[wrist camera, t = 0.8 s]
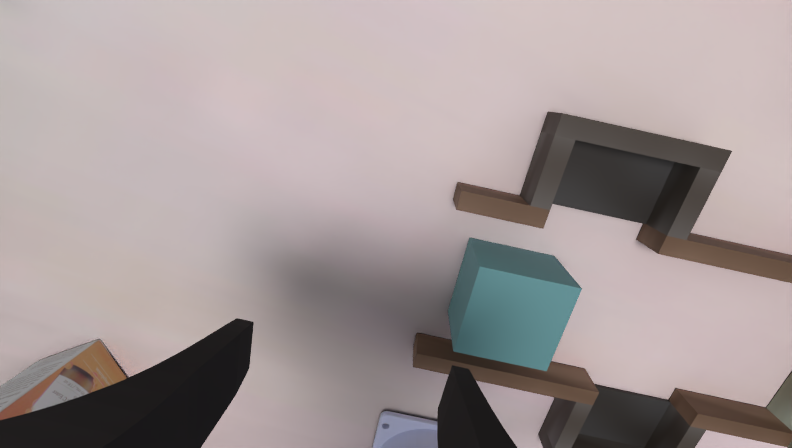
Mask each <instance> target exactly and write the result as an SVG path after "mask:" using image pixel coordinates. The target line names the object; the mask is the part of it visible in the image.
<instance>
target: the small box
mask: <svg viewBox="0 0 792 448" xmlns="http://www.w3.org/2000/svg"><path fill="white" fill-rule="evenodd" d="M124 379H127V378H126V376H125V375H124V374H123V372H122V371H121V369H120V368H119V367H118V365H117V364H116V362H115V361H114V360H113V358H112V357H111V355H110V353H109V352H108V350H107V348H106V347H105V345H104V344H103V343H102V341H101V340H95V341H93V342H90V343H87V344H84V345H81V346H78V347H75V348H72V349H70V350H67V351H64V352H61V353H58V354H55V355H53V356H50V357H47V358H44V359H42V360H39V361H37V362H36V363H34V364H33V365H31V366H30V367H28V368H27V369H26V370H24V371H22V372H21V373H19V374H18V375H16V376H15V377H14V378H12V379H11V380H9V381H8V382H6V383H5V384H3V385H2V386H0V420H3V419H7V418H11V417H15V416H19V415H23V414H26V413H30V412H33V411H37V410H40V409H43V408H47V407H50V406H53V405H57V404H60V403H63V402H66V401H69V400H72V399H75V398H78V397H81V396H83V395H86V394H89V393H91V392H94V391H96V390H99V389H102V388H104V387H107V386H110V385H112V384H115V383H117V382H120V381H122V380H124Z"/></svg>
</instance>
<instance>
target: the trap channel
mask: <svg viewBox="0 0 792 448" xmlns="http://www.w3.org/2000/svg"><path fill="white" fill-rule="evenodd" d="M731 152H732V151H730V150H725V149H721V148H716V147H712V146H707V145H703V144H698V143H694V142H689V141H685V140H680V139H676V138H671V137H667V136H662V135H658V134H653V133H649V132H644V131H640V130H635V129H631V128H626V127H622V126H617V125H613V124H608V123H604V122H599V121H595V120H590V119H586V118H581V117H577V116H572V115H568V114H563V113H555V112H548V113H547V116H546V119H545V122H544V125H543V128H542V131H541V134H540V137H539V140H538V143H537V146H536V149H535V152H534V155H533V158H532V161H531V164H530V167H529V170H528V173H527V176H526V179H525V182H524V185H523V188H522V191H521V194H520V196H519V195H514V194H510V193H505V192H501V191H496V190H492V189H487V188H482V187H478V186H473V185H469V184H464V183H460V182H458V183H457V187H456V190H455V194H454V198H453V201H454V204H455V207H456V210H461V211H465V212H470V213H474V214H479V215H483V216H488V217H493V218H497V219H502V220H506V221H511V222H515V223H520V224H525V225H529V226H534V227H538V228H544V225H545V222H546V220H547V217H548V214H549V211H550V209H551V206H552V204H557V205H561V206H566V207H570V208H575V209H579V210H584V211H589V212H593V213H598V214H602V215H607V216H611V217H616V218H620V219H625V220H630V221H634V222H639V223H643V226H642V228H641V230H640V232H639V235H638V237H637V239H636V240H638V241H639V242H641V243H643V244H644V245H646V246H647V247H649V248H650V249H652V250H653V251H655V252H656V253H658V254H662V255H666V256H671V257H675V258H680V259H685V260H689V261H694V262H698V263H703V264H707V265H712V266H716V267H721V268H726V269H730V270H735V271H739V272H744V273H748V274H753V275H758V276H762V277H767V278H771V279H776V280H780V281H785V282H790V283H792V255H788V254H783V253H779V252H774V251H770V250H765V249H760V248H756V247H751V246H747V245H742V244H738V243H733V242H729V241H724V240H719V239H715V238H710V237H706V236H701V235H697V234H692V233H690V232H691V230H692V228H693V226H694V224H695V222H696V220H697V219H698V217H699V215H700V213H701V211H702V209H703V207H704V205H705V203H706V201H707V199H708V197H709V195H710V193H711V191H712V189H713V187H714V185H715V183H716V181H717V179H718V177H719V176H720V174H721V172H722V170H723V168H724V166H725V164H726V162H727V160H728V158H729V156H730V154H731ZM452 365H453V366H458V367H463V368H467V369H469V370H470V372H471V373H472V375H473V377H474V379H475V380H477V381H481V382H486V383H491V384H495V385H500V386H505V387H509V388H514V389H519V390H523V391H528V392H533V393H537V394H542V395H547V396H551V397H555V399H554V401H553V404H552V406H551V408H550V410H549V412H548V415H547V417H546V419H545V421H544V423H543V426H542V428H541V430H540V432H539V437H540V440H541V443H542V446H543V448H695V446H696V445H697V443H698V442H699V440H700V439H701V437H702V436H703V434H704V433H705V431H706V430H710V431H714V432H719V433H724V434H728V435H733V436H738V437H742V438H747V439H752V440H756V441H761V442H766V443H770V444H775V445H780V446H784V447H788V448H792V372H791V374H790V375H789V377H788V378H787V379H786V381H785V382H784V384H783V385H782V386H781V388H780V389H779V391H778V392H777V394H776V395H775V396H774V398H773V399H772V401H771V402H770V403H769V405H768V406H767V408H764V407H760V406H755V405H750V404H746V403H741V402H736V401H732V400H727V399H723V398H718V397H713V396H709V395H704V394H699V393H695V392H690V391H685V390H681V389H675V391H674V392H673V394H672V396H671V397H670V399H669V400H665V399H660V398H656V397H651V396H646V395H642V394H637V393H632V392H628V391H623V390H618V389H614V388H609V387H604V386H600V385H595V384H594V383H593V381H592V380H591V378H590V376H589V375H588V373H587V372H586V370H585V369H583V368H579V367H574V366H569V365H565V364H560V363H555V362H550V364H549V367H548V369H547V371H543V370H538V369H534V368H529V367H524V366H520V365H515V364H510V363H505V362H501V361H496V360H491V359H487V358H482V357H477V356H473V355H468V354H463V353H458V352H454V351H453V346H452V340H448V339H444V338H439V337H435V336H430V335H425V334H421V333H417V334H416V338H415V342H414V346H413V367H416V368H421V369H425V370H430V371H435V372H439V373H444V374H449V373H450V370H451V367H452Z"/></svg>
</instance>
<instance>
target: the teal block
mask: <svg viewBox="0 0 792 448" xmlns="http://www.w3.org/2000/svg"><path fill="white" fill-rule="evenodd" d="M581 290H582V288H581V287H580V286H579V285H578V283H577V282H576V281H575V280H574V279H573V278H572V276H571V275H570V274H569V273H568V272H567V270H566V269H565V268H564V267H563V266H562V265H561V263H560V262H559V261H558V260H557V259H556V258H555V256H552V255H548V254H543V253H539V252H534V251H529V250H525V249H520V248H516V247H511V246H506V245H502V244H497V243H492V242H488V241H483V240H479V239H474V238H469V241H468V244H467V248H466V251H465V254H464V258H463V261H462V265H461V268H460V271H459V275H458V278H457V282H456V285H455V288H454V292H453V295H452V299H451V302H450V305H449V309H448V316H449V323H450V331H451V338H452V346H453V351H454V352H458V353H463V354H468V355H473V356H477V357H482V358H487V359H491V360H496V361H501V362H505V363H510V364H515V365H520V366H524V367H529V368H534V369H538V370H543V371H547V369H548V367H549V364H550V362H551V360H552V357H553V355H554V353H555V350H556V348H557V346H558V343H559V341H560V339H561V336H562V334H563V332H564V329H565V327H566V325H567V322H568V320H569V318H570V315H571V313H572V311H573V308H574V306H575V304H576V301H577V299H578V297H579V294H580V292H581Z"/></svg>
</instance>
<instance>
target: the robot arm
mask: <svg viewBox="0 0 792 448" xmlns="http://www.w3.org/2000/svg"><path fill="white" fill-rule="evenodd" d="M252 333H253V322H251V321H246V320H242V319H235V320H233V321H232V322H230V323H228V324H226V325H225V326H223V327H222V328H220V329H218V330H217V331H215V332H213V333H212V334H210V335H208V336H207V337H205V338H204V339H202V340H200V341H198V342H197V343H195V344H193V345H192V346H190V347H188V348H187V349H185V350H183V351H181V352H179V353H178V354H176V355H174V356H172V357H170V358H168V359H166V360H164V361H163V362H161V363H159V364H157V365H155V366H153V367H151V368H149V369H147V370H145V371H142V372H140V373H138V374H136V375H134V376H131V377H129V378H127V379H124V380H122V381H120V382H117V383H115V384H112V385H110V386H107V387H104V388H102V389H99V390H96V391H94V392H91V393H89V394H86V395H83V396H81V397H78V398H75V399H72V400H69V401H66V402H63V403H60V404H57V405H53V406H50V407H47V408H43V409H40V410H37V411H33V412H30V413H26V414H23V415H19V416H15V417H11V418H7V419H3V420H0V448H201V446H202V445H203V443H204V442H205V440H206V439H207V437H208V436H209V434H210V433H211V431H212V430H213V428H214V427H215V425H216V424H217V422H218V421H219V419H220V418H221V416H222V415H223V413H224V412H225V410H226V409H227V407H228V406H229V404H230V403H231V401H232V400H233V398H234V397H235V395H236V393H237V391H238V389H239V387H240V385H241V384H242V382H243V380H244V378H245V375H246V373H247V371H248V369H249V364H250V354H251V343H252ZM384 423H387V424H384ZM372 448H517V447H516V445H515V444H514V442H513V441H512V439H511V438H510V437H509V435H508V434H507V432H506V431H505V429H504V428H503V426H502V425H501V423H500V421H499V420H498V418H497V417H496V415H495V413H494V412H493V410H492V409H491V407H490V405H489V404H488V402H487V400H486V398H485V397H484V395H483V393H482V391H481V390H480V388H479V386H478V384H477V382H476V381H475V379H474V377H473V375H472V373H471V372H470V370H469V369H467V368H463V367H458V366H453V365H452V367H451V370H450V373H449V376H448V379H447V382H446V385H445V388H444V392H443V395H442V398H441V401H440V404H439V407H438V422H437V421H432V420H428V419H423V418H418V417H414V416H409V415H404V414H400V413H395V412H390V411H384V412H382V413H381V415H380V418H379V422H378V426H377V430H376V434H375V438H374V442H373V446H372Z"/></svg>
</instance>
